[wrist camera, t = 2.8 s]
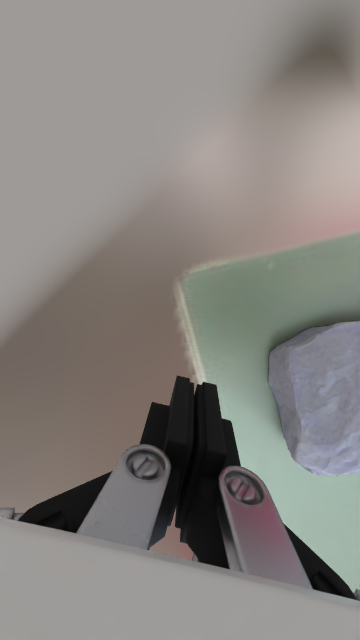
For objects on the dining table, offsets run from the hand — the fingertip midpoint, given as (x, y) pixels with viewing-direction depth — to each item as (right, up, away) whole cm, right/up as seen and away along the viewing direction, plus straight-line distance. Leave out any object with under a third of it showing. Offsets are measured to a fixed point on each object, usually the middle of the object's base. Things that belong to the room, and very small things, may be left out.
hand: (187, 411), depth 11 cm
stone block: (+12, 0, +9) cm, 15 cm away
